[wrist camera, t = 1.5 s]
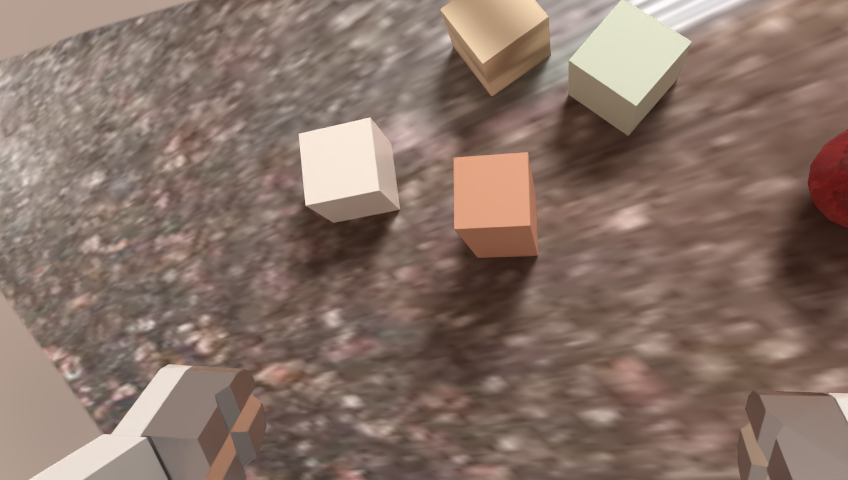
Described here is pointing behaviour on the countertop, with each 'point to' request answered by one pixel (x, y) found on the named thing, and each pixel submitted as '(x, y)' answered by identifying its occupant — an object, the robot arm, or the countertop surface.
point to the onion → (831, 180)
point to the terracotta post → (496, 205)
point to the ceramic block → (348, 171)
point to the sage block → (626, 66)
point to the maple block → (498, 38)
